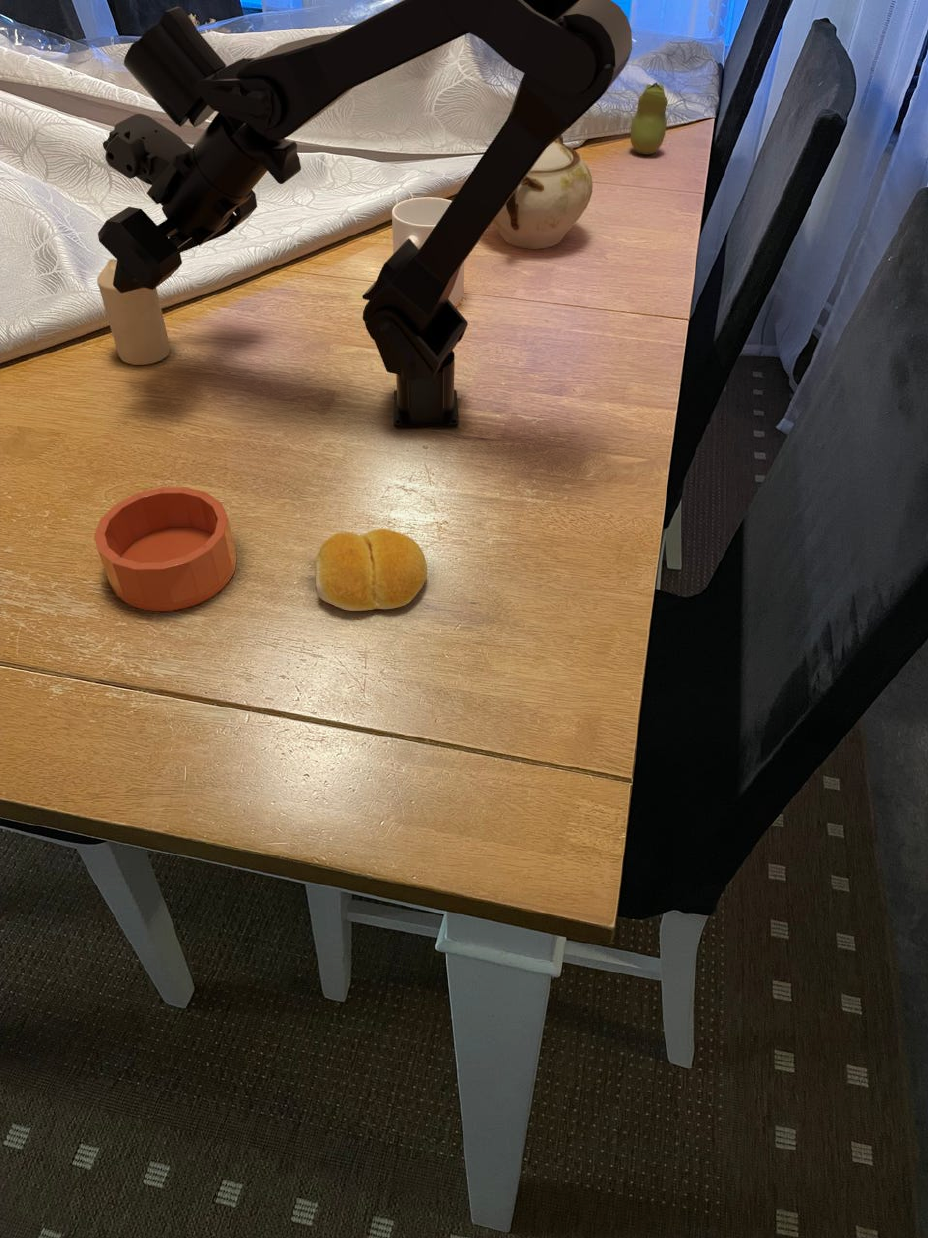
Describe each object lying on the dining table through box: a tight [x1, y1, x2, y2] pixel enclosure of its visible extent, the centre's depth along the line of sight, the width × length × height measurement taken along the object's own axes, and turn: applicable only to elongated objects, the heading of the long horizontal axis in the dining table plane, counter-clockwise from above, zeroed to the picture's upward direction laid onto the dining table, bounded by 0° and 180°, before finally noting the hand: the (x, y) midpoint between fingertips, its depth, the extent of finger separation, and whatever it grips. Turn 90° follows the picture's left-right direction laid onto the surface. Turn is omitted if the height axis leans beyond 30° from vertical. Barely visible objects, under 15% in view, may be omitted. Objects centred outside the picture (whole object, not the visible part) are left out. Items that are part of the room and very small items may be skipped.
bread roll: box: [315, 528, 428, 612], centre depth 70 cm, size 8×9×4 cm
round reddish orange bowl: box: [93, 486, 237, 612], centre depth 70 cm, size 10×10×4 cm
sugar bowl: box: [492, 134, 594, 250], centre depth 114 cm, size 20×15×15 cm
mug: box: [391, 196, 465, 308], centre depth 101 cm, size 12×8×10 cm
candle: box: [96, 258, 171, 366], centre depth 92 cm, size 6×6×10 cm
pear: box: [630, 82, 669, 155], centre depth 140 cm, size 6×5×10 cm
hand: (144, 269), depth 88 cm, fingers open, 9 cm apart
